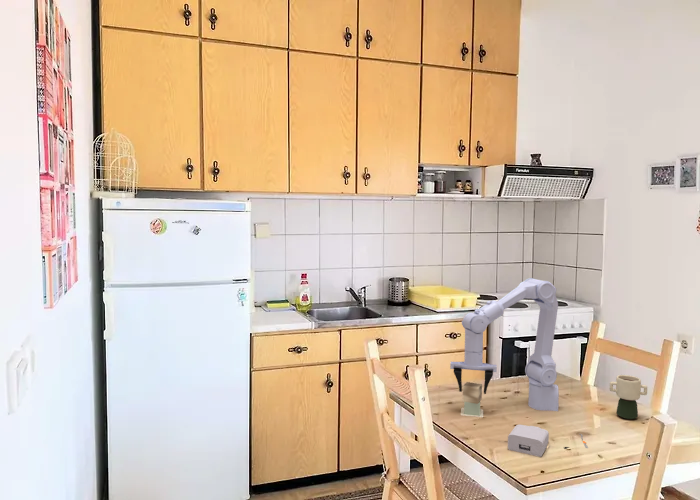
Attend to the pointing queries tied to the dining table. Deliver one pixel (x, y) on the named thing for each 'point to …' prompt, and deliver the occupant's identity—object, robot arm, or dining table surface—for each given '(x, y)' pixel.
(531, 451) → the charger
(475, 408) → the sage base block
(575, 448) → the dining table surface
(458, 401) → the dining table surface
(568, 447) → the key chain
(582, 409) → the dining table surface
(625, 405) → the trophy cup
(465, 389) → the maple block
